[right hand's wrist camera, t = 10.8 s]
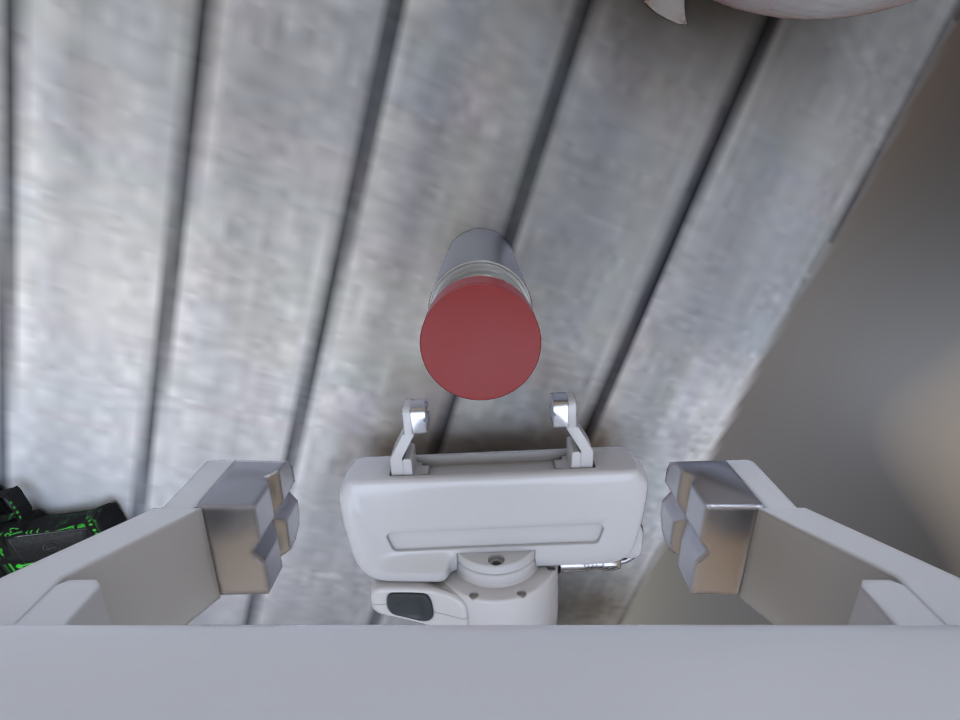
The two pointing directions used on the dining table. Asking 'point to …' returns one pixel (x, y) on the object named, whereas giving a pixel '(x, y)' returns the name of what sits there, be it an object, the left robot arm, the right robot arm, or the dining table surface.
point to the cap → (480, 338)
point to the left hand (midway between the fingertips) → (488, 398)
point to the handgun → (45, 530)
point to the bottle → (480, 261)
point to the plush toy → (784, 8)
